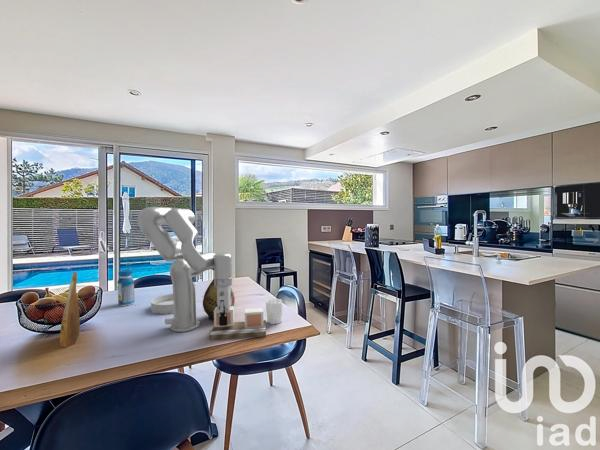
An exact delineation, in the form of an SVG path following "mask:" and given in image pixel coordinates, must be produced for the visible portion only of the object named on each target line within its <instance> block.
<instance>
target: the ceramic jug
mask: <svg viewBox="0 0 600 450" xmlns="http://www.w3.org/2000/svg"><path fill="white" fill-rule="evenodd" d="M211 270H212V271H214V268H213V269H211ZM235 299H236V298H235V294H234V291H233V289H232V288H231V306H234V307H235V304H236V303H235V302H236V301H235ZM216 307H217V287H215V286H214V278H213V279H212V280H211V282H210V284H208V286H207V288H206V290H205V292H204V296H203V300H202V308H203V310H204V312H205V314H206V315H207V317H208V319H209V320H210V321H213V322H214V310H215V308H216Z"/></svg>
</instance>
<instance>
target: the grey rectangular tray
mask: <svg viewBox="0 0 600 450" xmlns="http://www.w3.org/2000/svg"><path fill="white" fill-rule="evenodd" d="M211 329H212V330H211V331H209V340H210V341H212V340H226V339H229V340H230V339H244V338H260V337H267V319H264V328H248V329H245V321H235V322H234V325H233V326H223V327H214V326H213V328H211Z"/></svg>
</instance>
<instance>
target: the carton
mask: <svg viewBox="0 0 600 450" xmlns="http://www.w3.org/2000/svg"><path fill="white" fill-rule="evenodd" d="M264 320H265V319H264V307H261V308H259V307H258V308H245V309H244V322H245V329H248V328H264Z"/></svg>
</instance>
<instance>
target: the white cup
mask: <svg viewBox="0 0 600 450" xmlns="http://www.w3.org/2000/svg"><path fill="white" fill-rule="evenodd" d="M265 308H266V309H265V311H266V323H268V324H271V325H277V324H280V323H282V316H283V300H282V299H281V298H270V299H267V300H265Z"/></svg>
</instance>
